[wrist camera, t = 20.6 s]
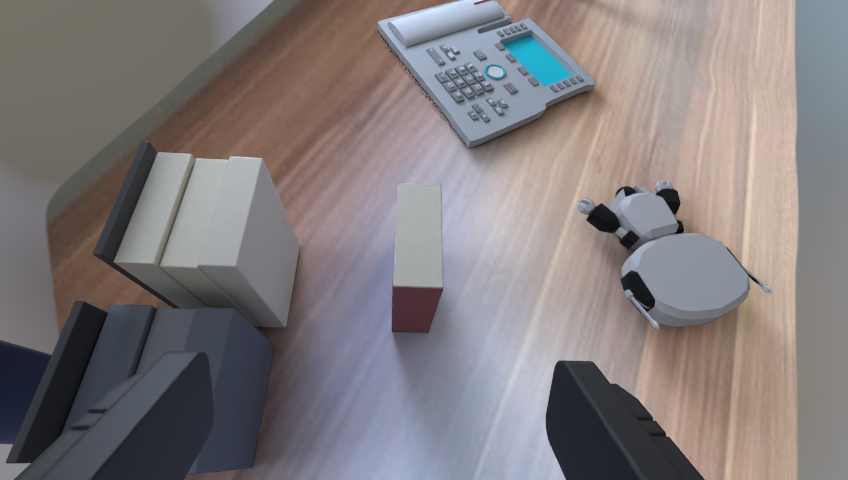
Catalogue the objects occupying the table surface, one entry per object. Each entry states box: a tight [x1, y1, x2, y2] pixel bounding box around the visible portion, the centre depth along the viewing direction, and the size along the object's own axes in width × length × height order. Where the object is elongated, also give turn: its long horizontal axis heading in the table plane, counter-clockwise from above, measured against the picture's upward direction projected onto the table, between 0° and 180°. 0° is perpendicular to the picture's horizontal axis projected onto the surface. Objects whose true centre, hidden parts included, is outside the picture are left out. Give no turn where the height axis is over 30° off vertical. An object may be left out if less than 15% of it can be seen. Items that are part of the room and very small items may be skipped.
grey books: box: [6, 301, 274, 474], centre depth 26 cm, size 8×9×12 cm
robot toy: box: [577, 181, 772, 330], centre depth 39 cm, size 12×4×15 cm
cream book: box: [392, 183, 443, 333], centre depth 32 cm, size 3×8×11 cm, turn 0°
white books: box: [93, 142, 300, 328], centre depth 30 cm, size 7×8×14 cm
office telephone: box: [378, 0, 595, 147], centre depth 52 cm, size 23×3×20 cm
